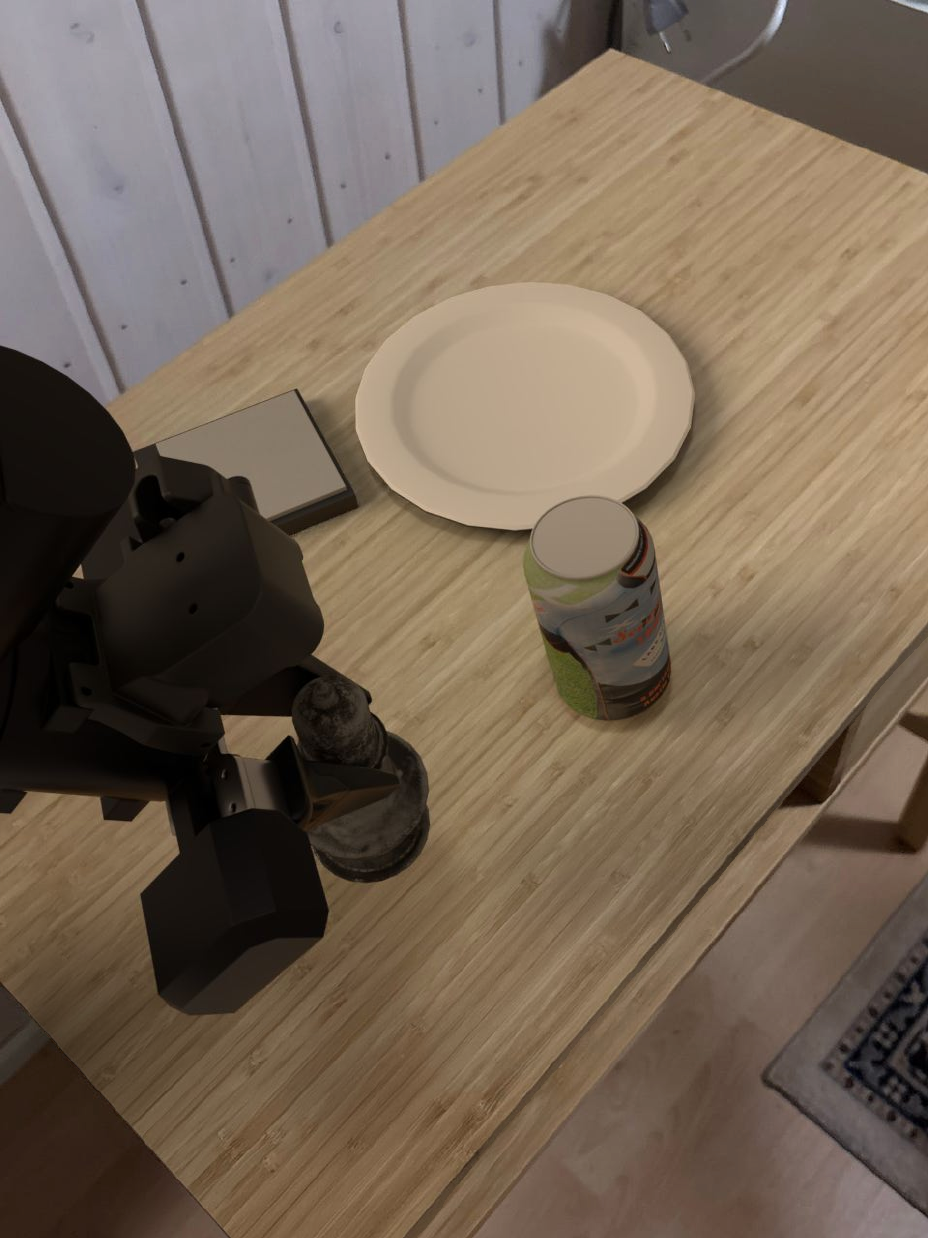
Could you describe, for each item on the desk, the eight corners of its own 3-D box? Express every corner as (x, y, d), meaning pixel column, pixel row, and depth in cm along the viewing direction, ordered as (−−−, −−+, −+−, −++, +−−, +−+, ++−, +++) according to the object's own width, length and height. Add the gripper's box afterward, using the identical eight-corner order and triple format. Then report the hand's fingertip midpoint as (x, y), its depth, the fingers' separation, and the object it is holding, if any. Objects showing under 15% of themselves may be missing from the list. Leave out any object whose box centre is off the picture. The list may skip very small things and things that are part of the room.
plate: (761, 457, 68) (765, 437, 66) (445, 600, 64) (442, 582, 63) (587, 260, 79) (587, 239, 77) (308, 372, 75) (303, 352, 74)
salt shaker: (283, 871, 49) (210, 739, 39) (330, 751, 52) (274, 601, 42) (413, 905, 48) (372, 778, 38) (453, 781, 51) (425, 633, 41)
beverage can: (652, 746, 58) (665, 613, 48) (514, 708, 60) (500, 573, 50) (683, 646, 61) (702, 502, 51) (551, 612, 63) (545, 467, 53)
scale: (184, 578, 66) (176, 562, 65) (138, 464, 72) (129, 447, 71) (358, 507, 68) (354, 489, 67) (300, 401, 74) (295, 383, 72)
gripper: (159, 821, 25) (613, 852, 35) (55, 294, 35) (431, 438, 46) (-41, 1038, 31) (402, 1009, 41) (-81, 529, 41) (282, 609, 51)
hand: (379, 744), depth 45 cm, fingers closed on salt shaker, 3 cm apart
